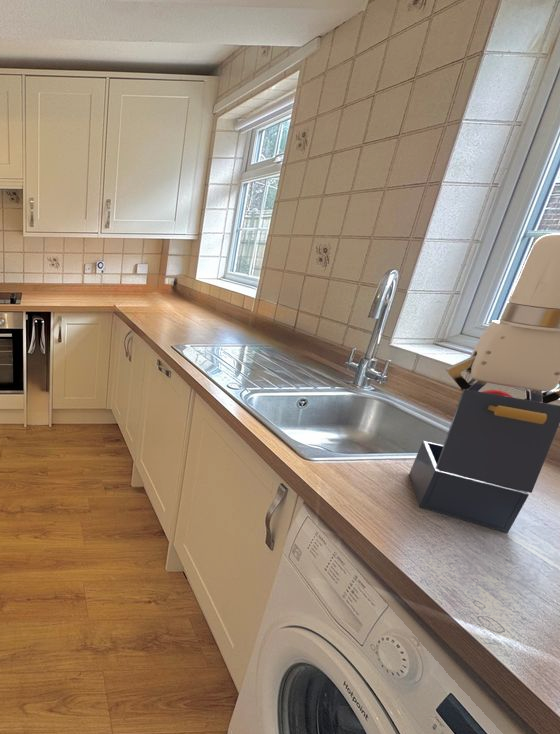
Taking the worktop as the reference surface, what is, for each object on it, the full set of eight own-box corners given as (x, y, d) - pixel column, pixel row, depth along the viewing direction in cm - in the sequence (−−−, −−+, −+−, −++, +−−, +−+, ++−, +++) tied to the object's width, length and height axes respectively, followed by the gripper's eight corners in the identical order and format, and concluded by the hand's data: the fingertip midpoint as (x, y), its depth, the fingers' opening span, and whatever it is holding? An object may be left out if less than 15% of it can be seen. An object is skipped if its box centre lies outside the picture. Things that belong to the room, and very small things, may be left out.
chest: (409, 473, 84) (422, 440, 81) (485, 493, 78) (503, 458, 75) (419, 507, 73) (435, 470, 71) (508, 533, 68) (529, 494, 65)
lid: (463, 388, 68) (475, 392, 63) (563, 406, 62) (585, 411, 58) (435, 467, 71) (444, 476, 66) (529, 491, 65) (547, 503, 60)
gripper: (608, 321, 63) (552, 426, 69) (458, 306, 71) (420, 401, 78) (636, 330, 57) (572, 443, 63) (468, 313, 66) (427, 414, 72)
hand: (489, 419), depth 71 cm, fingers closed on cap, 5 cm apart
